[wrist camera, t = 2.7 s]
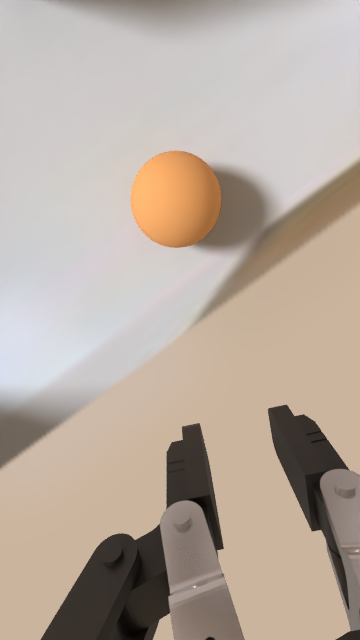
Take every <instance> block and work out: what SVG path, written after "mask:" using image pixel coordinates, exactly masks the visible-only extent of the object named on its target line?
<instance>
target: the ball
mask: <svg viewBox="0 0 360 640" xmlns="http://www.w3.org/2000/svg"><path fill="white" fill-rule="evenodd" d="M131 207H132V212H133V215H134V218H135V220H136V223H137V224H138V226H139V228H140V229H141V230H142V231H143V233H144V234H145V235H146V236H147V237H149V238H150V239H151V240H153V241H154V242H156V243H158V244H161V245H163V246H167V247H174V248H178V247H186V246H189V245H192V244H194V243H197V242H198V241H200V240H201V239H203V238H204V237H205V236H206V235H207V234H208V233H209V232H210V231H211V230H212V228H213V227H214V225H215V223H216V222H217V219H218V217H219V213H220V210H221V190H220V185H219V182H218V180H217V177H216V176H215V174H214V172H213V171H212V169H211V168H210V167H209V166H208V165H207V163H205V162H204V161H203V160H202V159H200V158H199V157H197V156H195V155H193V154H191V153H187V152H183V151H169V152H165V153H161V154H159V155H157V156H155V157H153V158H152V159H150V160H149V161H148V162H147V163H145V164H144V166H143V167H142V168H141V169H140V171H139V172H138V174H137V176H136V178H135V180H134V183H133V186H132V191H131Z"/></svg>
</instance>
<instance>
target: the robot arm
mask: <svg viewBox="0 0 360 640" xmlns="http://www.w3.org/2000/svg"><path fill="white" fill-rule="evenodd" d="M268 414H269V420H270V427H271V433H272V439H273V443H274V447H275V450H276V453H277V456H278V458H279V460H280V463H281V465H282V467H283V469H284V471H285V473H286V475H287V478H288V480H289V482H290V484H291V486H292V489H293V491H294V493H295V495H296V497H297V500H298V502H299V504H300V506H301V508H302V511H303V513H304V515H305V517H306V519H307V521H308V524H309V526H310V528H311V530H312V531H316V530H322V532H323V534H324V536H325V538H326V543H327V551H328V555H329V558H330V561H331V564H332V568H333V571H334V574H335V578H336V581H337V584H338V587H339V591H340V594H341V597H342V600H343V604H344V607H345V610H346V613H347V617H348V620H349V625H350V629H351V631H350V632H348V633H346V634H344V635H343V636H341V637H340V638H338V639H336V640H360V475H359V474H357V473H355V472H353V471H350V470H349V469H348V467H347V466H346V465H345V463H344V462H343V461H342V459H341V458H340V456H339V455H338V454H337V452H336V451H335V449H334V448H333V447H332V445H331V444H330V442H329V441H328V440H327V438H326V437H325V435H324V434H323V433H322V432H321V430H320V428H319V427H318V425H317V424H316V423H315V421H313V420H311V419H310V418H308V417H307V416H305V415H299V416H294V415H293V413H292V412H291V410H290V409H289V407H288V406H287V405H283V406H278V407H273V408H269V409H268ZM182 434H183V440H181V441H176V442H172V443H171V445H170V447H169V449H168V451H167V508H166V511H165V512H164V513H163V515H162V518H161V521H160V524H159V525H158V526H157V527H156V528H155V529H154V530H152V531H151V532H149V533H148V534H146V535H144V536H142V537H140V538H138V539H137V540H134V539H133V538H132V537H131V536H130V535H127V534H115V535H112V536H110V537H108V538H107V539H105V540H104V541H103V542H102V543H101V544H100V545H99V546H98V547H97V548H96V550H95V551H94V553H93V554H92V556H91V558H90V559H89V561H88V563H87V564H86V566H85V568H84V569H83V571H82V573H81V574H80V576H79V577H78V579H77V581H76V582H75V584H74V586H73V587H72V589H71V591H70V592H69V594H68V596H67V597H66V599H65V601H64V602H63V604H62V605H61V607H60V609H59V610H58V612H57V614H56V615H55V617H54V619H53V620H52V622H51V624H50V625H49V627H48V628H47V630H46V632H45V633H44V635H43V637H42V638H41V640H153V637H154V634H155V631H156V629H157V626H158V623H159V620H160V619H161V618H163V617H164V616H166V615H167V614H169V613H170V615H171V621H172V628H173V635H174V640H245V639H244V636H243V633H242V630H241V627H240V624H239V621H238V617H237V614H236V611H235V608H234V605H233V602H232V599H231V595H230V592H229V589H228V586H227V583H226V580H225V577H224V574H223V573H222V570H221V567H220V564H219V560H218V553H217V550H221V549H223V542H222V536H221V530H220V524H219V518H218V512H217V506H216V501H215V494H214V489H213V482H212V477H211V471H210V465H209V461H208V456H207V452H206V448H205V444H204V439H203V435H202V431H201V427H200V424H199V423H197V424H193V425H188V426H183V427H182Z"/></svg>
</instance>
